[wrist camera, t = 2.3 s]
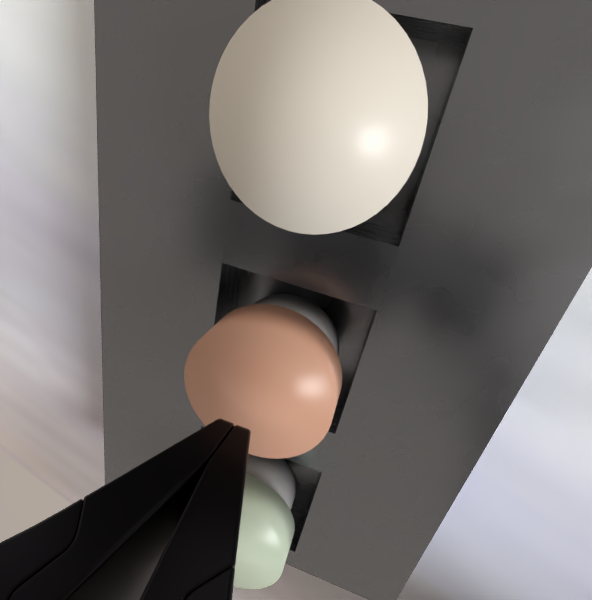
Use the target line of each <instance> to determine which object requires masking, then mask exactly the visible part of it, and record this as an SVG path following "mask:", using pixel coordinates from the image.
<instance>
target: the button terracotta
mask: <svg viewBox="0 0 592 600" xmlns="http://www.w3.org/2000/svg"><path fill="white" fill-rule="evenodd" d="M338 355H339V338H338V334H337V331H336V328H335V326H334V324H333V323H332V321H331V320H330V318H329V317H328V316H327V314H326V313H325V312H324V311H323V310H322V309H321V308H319V307H318V306H317V305H315V304H314V303H312V302H311V301H309V300H307V299H305V298H302V297H299V296H295V295H290V294H275V295H270V296H267V297H264V298H262V299H260V300H259V301H257V302H256V303H254V304H251V305H246V306H242V307H239V308H237V309H235V310H233V311H231V312H229V313H228V314H226V315H225V316H224V317H223V318H222V319H221V320H219V321H218V322H217V323H216V324H215V325H214V326H213V327H212V328H211V329H210V330H209V331H208V332H207V333H206V334H205V335H204V336H203V337H202V338H201V339H199V340H198V341H197V342H196V344H195V345H194V346H193V348H192V349H191V351H190V353H189V355H188V357H187V360H186V364H185V370H184V381H185V388H186V392H187V396H188V398H189V401H190V403H191V405H192V407H193V409H194V411H195V412H196V414H197V415H198V417H199V418H200V420H201V421H202V422H203V423H204V424H205V426H207V425H208V424H210V423H212V422H213V421H215V420H217V419H223V420H226V421H229V422H231V423H233V424H234V426H235V425H239V426H242V427H244V428H247V429H249V430H250V431H251V435H250V444H249V452H248V454H251V455H254V456H258V457H263V458H273V459H281V458H290V457H294V456H298V455H301V454H303V453H306V452H307V451H309V450H311V449H313V448H314V447H315V446H316V445H318V444H319V443H320V442H321V441H322V439H323V438H324V437H325V435H326V434H327V432H328V430H329V428H330V426H331V423H332V419H333V416H334V412H335V409H336V405H337V402H338V398H339V395H340V391H341V387H342V368H341V363H340V359H339V357H338Z"/></svg>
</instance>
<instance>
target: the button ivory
mask: <svg viewBox="0 0 592 600" xmlns="http://www.w3.org/2000/svg"><path fill="white" fill-rule="evenodd" d="M427 118H428V96H427V88H426V81H425V77H424V73H423V69H422V65H421V62H420V60H419V57H418V55H417V52H416V50H415V47H414V46H413V44H412V42H411V40H410V39H409V37H408V35H407V34H406V32H405V31H404V30H403V28H402V27H401V26H400V25H399V23H398V22H397V21H396V19H394V18H393V17H392V16H391V15H390V14H389V13H388V12H387V11H386V10H385V9H384V8H383V7H381V6H380V5H378V4H377V3H375V2H374V1H372V0H271V1H269V2H268V3H266V4H265V5H263V6H261V7H260V8H259V9H258V10H257V11H255V12H254V13H253V14H252V15H251V16H249V18H248V19H247V20H246V21H245V22H244V23H243V24H242V25H241V26H240V27H239V29H238V30H237V31H236V33H235V34H234V36H233V37H232V38H231V40H230V41H229V43H228V45H227V47H226V49H225V51H224V52H223V54H222V56H221V59H220V62H219V64H218V67H217V69H216V72H215V76H214V80H213V84H212V89H211V96H210V107H209V122H210V133H211V139H212V144H213V148H214V152H215V155H216V159H217V161H218V164H219V166H220V169H221V171H222V173H223V175H224V177H225V179H226V180H227V182H228V184H229V186H230V187H231V188H232V190H233V191H234V193H235V194H236V195H237V196H238V198H239V199H240V200H241V201H242V202H243V203H244V204H245V205H246V206H247V207H248V208H249V209H250V210H251V211H253V212H254V213H255V214H256V215H258V216H259V217H261V218H262V219H264V220H265V221H267V222H269V223H271V224H273V225H275V226H277V227H279V228H282V229H285V230H288V231H291V232H296V233H301V234H312V235H317V234H329V233H335V232H340V231H343V230H346V229H349V228H352V227H354V226H356V225H358V224H360V223H363V222H365V221H366V220H368V219H369V218H371V217H372V216H374V215H375V214H377V213H378V212H379V211H380V210H382V209H383V208H384V207H385V206H386V205H388V203H389V202H390V201H391V200H392V199H393V198H394V197H395V196H396V195H397V194H398V192H399V191H400V190H401V188H402V187H403V185H404V184H405V183H406V181H407V180H408V178H409V176H410V174H411V172H412V171H413V169H414V167H415V165H416V162H417V160H418V157H419V155H420V152H421V149H422V145H423V141H424V137H425V133H426V126H427Z"/></svg>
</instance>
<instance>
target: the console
mask: <svg viewBox="0 0 592 600" xmlns="http://www.w3.org/2000/svg"><path fill="white" fill-rule="evenodd" d="M269 1H271V0H94V11H95V55H96V100H97V144H98V189H99V233H100V278H101V323H102V367H103V412H104V456H105V485H106V484H108V483H109V482H111V481H113V480H115V479H116V478H118V477H120V476H121V475H123V474H125V473H127V472H128V471H130V470H132V469H133V468H135V467H137V466H138V465H140V464H142V463H144V462H145V461H147V460H149V459H150V458H152V457H154V456H155V455H157V454H159V453H161V452H162V451H164V450H166V449H167V448H169V447H171V446H173V445H174V444H176V443H178V442H179V441H181V440H183V439H184V438H186V437H188V436H190V435H191V434H193V433H195V432H196V431H198V430H200V429H202V428H203V427H205V424H204V423H203V422H202V421H201V420H200V418H199V417H198V415H197V414H196V412H195V411H194V409H193V407H192V405H191V403H190V401H189V398H188V396H187V392H186V388H185V381H184V370H185V364H186V360H187V357H188V355H189V353H190V351H191V349H192V348H193V346H194V345H195V344H196V342H197V341H198V340H199V339H201V338H202V337H203V336H204V335H205V334H206V333H207V332H208V331H209V330H210V329H211V328H212V327H213V326H214V325H215V324H216V323H217V322H218V321H219V320H221V319H222V318H223V317H224V316H225V315H226V314H228V313H229V312H231V311H233V310H235V309H237V308H239V307H242V306H246V305H251V304H254V303H256V302H257V301H259V300H260V299H262V298H264V297H267V296H270V295H275V294H290V295H295V296H299V297H302V298H305V299H307V300H309V301H311V302H312V303H314V304H315V305H317V306H318V307H319V308H321V309H322V310H323V311H324V312H325V313H326V314H327V316H328V317H329V318H330V320H331V321H332V323H333V324H334V326H335V328H336V331H337V334H338V338H339V355H338V357H339V359H340V363H341V368H342V387H341V391H340V395H339V398H338V402H337V405H336V409H335V412H334V416H333V419H332V423H331V426H330V428H329V430H328V432H327V434H326V435H325V437H324V438H323V439H322V441H321V442H320V443H319V444H318V445H316V446H315V447H314V448H313V449H311V450H309V451H307V452H306V453H303V454H301V455H298V456H294V457H290V458H283V459H284V460H285V461H286V462H287V463H288V464H289V466H290V467H291V468H292V470H293V472H294V474H295V476H296V479H297V492H296V495H295V498H294V501H293V504H292V508H291V513H292V515H293V518H294V523H295V531H294V536H293V539H292V542H291V546H290V549H289V552H288V556H287V559H286V562H285V563H286V564H288V565H291V566H293V567H295V568H298V569H300V570H302V571H304V572H307V573H309V574H311V575H314V576H316V577H318V578H321V579H323V580H325V581H327V582H330V583H332V584H334V585H337V586H339V587H341V588H344V589H346V590H348V591H350V592H353V593H355V594H357V595H360V596H362V597H364V598H367V599H369V600H396V599H397V597H398V595H399V594H400V592H401V590H402V589H403V587H404V585H405V583H406V582H407V580H408V578H409V577H410V575H411V573H412V572H413V570H414V568H415V566H416V565H417V563H418V561H419V560H420V558H421V556H422V555H423V553H424V551H425V549H426V548H427V546H428V544H429V543H430V541H431V539H432V538H433V536H434V534H435V532H436V531H437V529H438V527H439V526H440V524H441V522H442V521H443V519H444V517H445V515H446V514H447V512H448V510H449V509H450V507H451V505H452V504H453V502H454V500H455V498H456V497H457V495H458V493H459V492H460V490H461V488H462V487H463V485H464V483H465V481H466V480H467V478H468V476H469V475H470V473H471V471H472V470H473V468H474V466H475V464H476V463H477V461H478V459H479V458H480V456H481V454H482V453H483V451H484V449H485V447H486V446H487V444H488V442H489V441H490V439H491V437H492V436H493V434H494V432H495V430H496V429H497V427H498V425H499V424H500V422H501V420H502V419H503V417H504V415H505V413H506V412H507V410H508V408H509V407H510V405H511V403H512V402H513V400H514V398H515V396H516V395H517V393H518V391H519V390H520V388H521V386H522V385H523V383H524V381H525V379H526V378H527V376H528V374H529V373H530V371H531V369H532V368H533V366H534V364H535V362H536V361H537V359H538V357H539V356H540V354H541V352H542V351H543V349H544V347H545V345H546V344H547V342H548V340H549V339H550V337H551V335H552V334H553V332H554V330H555V328H556V327H557V325H558V323H559V322H560V320H561V318H562V316H563V315H564V313H565V311H566V310H567V308H568V306H569V305H570V303H571V301H572V299H573V298H574V296H575V294H576V293H577V291H578V289H579V288H580V286H581V284H582V282H583V281H584V279H585V277H586V276H587V274H588V272H589V271H590V269H591V267H592V0H372V1H374V2H375V3H377V4H378V5H380V6H381V7H383V8H384V9H385V10H386V11H387V12H388V13H389V14H390V15H391V16H392V17H393V18H394V19H396V21H397V22H398V23H399V25H400V26H401V27H402V28H403V30H404V31H405V32H406V34H407V35H408V37H409V39H410V40H411V42H412V44H413V46H414V47H415V50H416V52H417V55H418V57H419V60H420V62H421V65H422V69H423V73H424V77H425V81H426V88H427V96H428V118H427V126H426V133H425V137H424V141H423V145H422V149H421V152H420V155H419V157H418V160H417V162H416V165H415V167H414V169H413V171H412V172H411V174H410V176H409V178H408V180H407V181H406V183H405V184H404V185H403V187H402V188H401V190H400V191H399V192H398V194H397V195H396V196H395V197H394V198H393V199H392V200H391V201H390V202H389V203H388V205H386V206H385V207H384V208H383V209H382V210H380V211H379V212H378V213H377V214H375V215H374V216H372V217H371V218H369V219H368V220H366V221H365V222H363V223H360V224H358V225H356V226H354V227H352V228H349V229H346V230H343V231H340V232H335V233H329V234H317V235H312V234H301V233H296V232H291V231H288V230H285V229H282V228H279V227H277V226H275V225H273V224H271V223H269V222H267V221H265V220H264V219H262V218H261V217H259V216H258V215H256V214H255V213H254V212H253V211H251V210H250V209H249V208H248V207H247V206H246V205H245V204H244V203H243V202H242V201H241V200H240V199H239V198H238V196H237V195H236V194H235V193H234V191H233V190H232V188H231V187H230V186H229V184H228V182H227V180H226V179H225V177H224V175H223V173H222V171H221V169H220V166H219V164H218V161H217V159H216V155H215V152H214V148H213V144H212V139H211V133H210V122H209V107H210V96H211V89H212V84H213V80H214V76H215V72H216V69H217V67H218V64H219V62H220V59H221V56H222V54H223V52H224V51H225V49H226V47H227V45H228V43H229V41H230V40H231V38H232V37H233V36H234V34H235V33H236V31H237V30H238V29H239V27H240V26H241V25H242V24H243V23H244V22H245V21H246V20H247V19H248V18H249V16H251V15H252V14H253V13H254V12H255V11H257V10H258V9H259V8H260V7H261V6H263V5H265V4H266V3H268V2H269Z"/></svg>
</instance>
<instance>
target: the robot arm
mask: <svg viewBox="0 0 592 600" xmlns="http://www.w3.org/2000/svg"><path fill="white" fill-rule="evenodd" d="M250 435H251V431H250V430H249V429H247V428H244V427H242V426H239V425H235V426H234V424H233V423H231V422H229V421H226V420H223V419H217V420H215V421H213V422H212V423H210V424H208V425H207V426H205V427H203V428H202V429H200V430H198V431H196V432H195V433H193V434H191V435H190V436H188V437H186V438H184V439H183V440H181V441H179V442H178V443H176V444H174V445H173V446H171V447H169V448H167V449H166V450H164V451H162V452H161V453H159V454H157V455H155V456H154V457H152V458H150V459H149V460H147V461H145V462H144V463H142V464H140V465H138V466H137V467H135V468H133V469H132V470H130V471H128V472H127V473H125V474H123V475H121V476H120V477H118V478H116V479H115V480H113V481H111V482H109V483H108V484H106V485H104V486H103V487H101V488H99V489H98V490H96V491H94V492H92V493H91V494H89V495H87V496H86V497H84V500H82V499H80V500H78V501H77V502H75V503H73V504H72V505H70V506H68V507H67V508H65V509H63V510H61V511H60V512H58V513H56V514H54V515H52V516H51V517H49V518H47V519H45V520H43V521H42V522H40V523H38V524H36V525H34V526H32V527H30V528H29V529H27V530H25V531H23V532H21V533H19V534H17V535H15V536H13V537H11V538H9V539H7V540H5V541H3V542H1V543H0V600H232V593H233V583H234V575H235V564H236V556H237V547H238V539H239V530H240V521H241V513H242V504H243V495H244V487H245V478H246V470H247V461H248V452H249V444H250Z"/></svg>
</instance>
